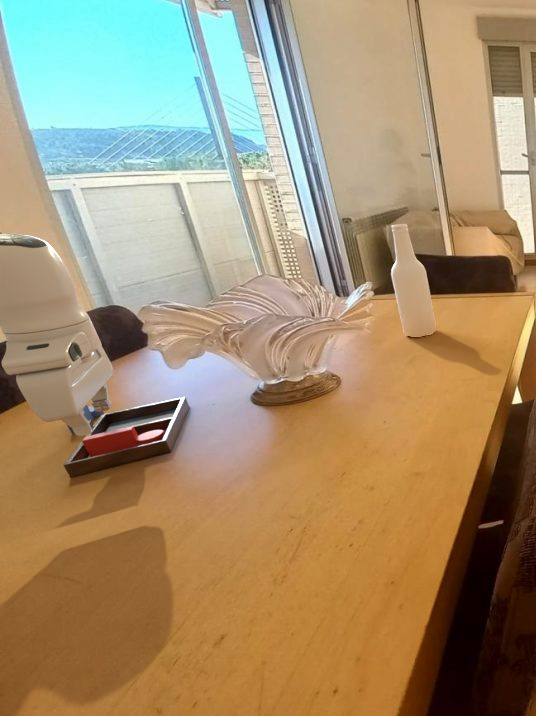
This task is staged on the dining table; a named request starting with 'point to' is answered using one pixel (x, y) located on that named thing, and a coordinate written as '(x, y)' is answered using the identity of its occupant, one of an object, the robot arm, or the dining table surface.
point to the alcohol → (411, 287)
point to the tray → (143, 420)
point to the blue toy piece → (89, 414)
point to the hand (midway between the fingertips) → (95, 421)
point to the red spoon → (119, 440)
